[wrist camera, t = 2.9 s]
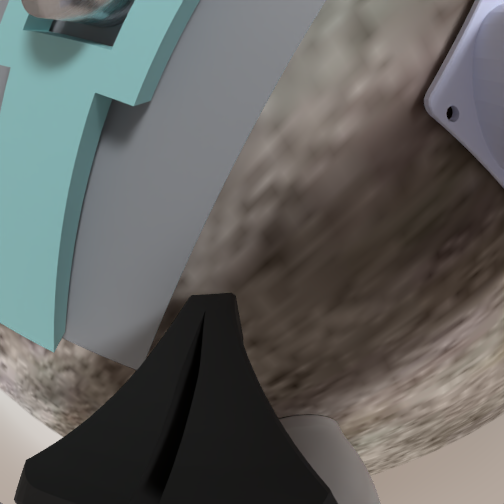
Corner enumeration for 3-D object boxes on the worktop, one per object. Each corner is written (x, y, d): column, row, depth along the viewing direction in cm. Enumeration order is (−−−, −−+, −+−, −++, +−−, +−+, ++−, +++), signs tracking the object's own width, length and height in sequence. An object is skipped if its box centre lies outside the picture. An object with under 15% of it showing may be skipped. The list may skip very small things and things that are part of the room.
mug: (205, 416, 17) (191, 568, 9) (354, 382, 15) (387, 555, 7) (273, 472, 23) (276, 568, 14) (374, 450, 21) (391, 551, 13)
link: (83, -84, 3) (63, -97, 2) (239, -61, 5) (236, -80, 4) (-5, 293, 10) (-18, 311, 9) (85, 341, 11) (76, 363, 10)
